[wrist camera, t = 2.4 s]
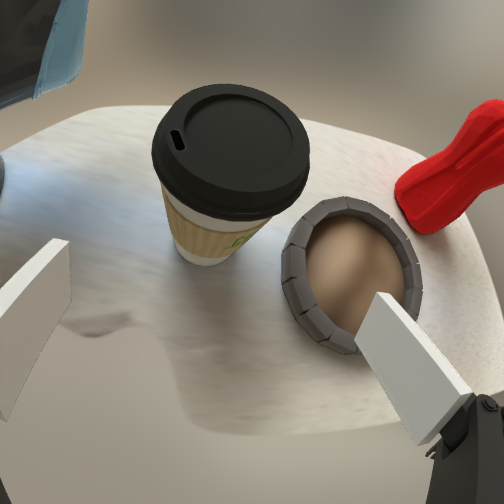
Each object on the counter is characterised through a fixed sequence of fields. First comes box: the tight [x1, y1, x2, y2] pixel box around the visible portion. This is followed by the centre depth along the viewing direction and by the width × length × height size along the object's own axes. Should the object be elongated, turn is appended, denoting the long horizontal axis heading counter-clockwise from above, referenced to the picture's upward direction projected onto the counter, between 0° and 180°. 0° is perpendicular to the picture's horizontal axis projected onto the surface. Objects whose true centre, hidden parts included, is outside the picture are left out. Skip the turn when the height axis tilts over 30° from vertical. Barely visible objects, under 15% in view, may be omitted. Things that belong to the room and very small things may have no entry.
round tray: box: [281, 196, 423, 355], centre depth 31 cm, size 17×17×2 cm
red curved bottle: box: [394, 99, 504, 234], centre depth 28 cm, size 9×11×25 cm
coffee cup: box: [151, 84, 310, 266], centre depth 23 cm, size 10×10×15 cm
